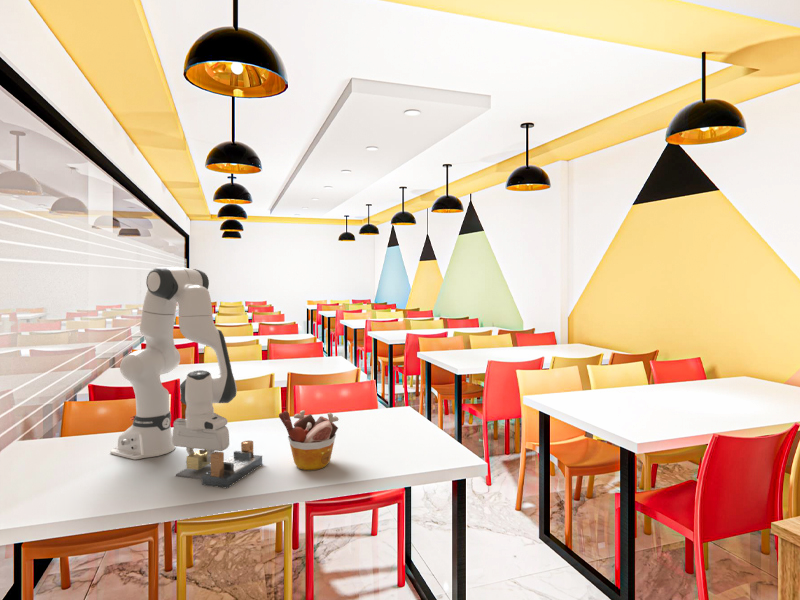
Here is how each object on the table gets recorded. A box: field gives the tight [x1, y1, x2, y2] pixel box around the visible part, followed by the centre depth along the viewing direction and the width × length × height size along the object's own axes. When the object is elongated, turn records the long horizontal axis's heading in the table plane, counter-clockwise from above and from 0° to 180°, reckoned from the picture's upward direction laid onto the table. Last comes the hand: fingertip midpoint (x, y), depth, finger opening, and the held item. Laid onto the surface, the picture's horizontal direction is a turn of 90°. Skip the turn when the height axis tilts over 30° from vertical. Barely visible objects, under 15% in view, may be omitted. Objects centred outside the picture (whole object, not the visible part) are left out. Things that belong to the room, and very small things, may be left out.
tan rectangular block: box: [186, 449, 211, 470], centre depth 165 cm, size 8×4×5 cm, turn 164°
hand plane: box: [201, 440, 263, 489], centre depth 162 cm, size 20×9×10 cm, turn 164°
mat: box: [175, 463, 211, 480], centre depth 165 cm, size 11×11×1 cm
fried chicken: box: [278, 409, 339, 471], centre depth 170 cm, size 20×16×20 cm
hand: (200, 460), depth 165 cm, fingers closed on tan rectangular block, 4 cm apart
